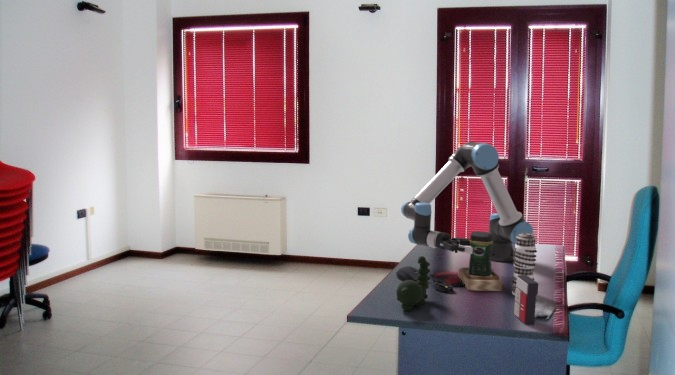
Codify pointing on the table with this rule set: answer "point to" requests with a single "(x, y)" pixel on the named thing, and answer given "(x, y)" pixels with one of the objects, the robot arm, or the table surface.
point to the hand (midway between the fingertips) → (480, 248)
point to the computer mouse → (412, 274)
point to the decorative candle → (524, 257)
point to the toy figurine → (414, 287)
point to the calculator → (525, 299)
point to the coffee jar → (480, 253)
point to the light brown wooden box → (480, 281)
